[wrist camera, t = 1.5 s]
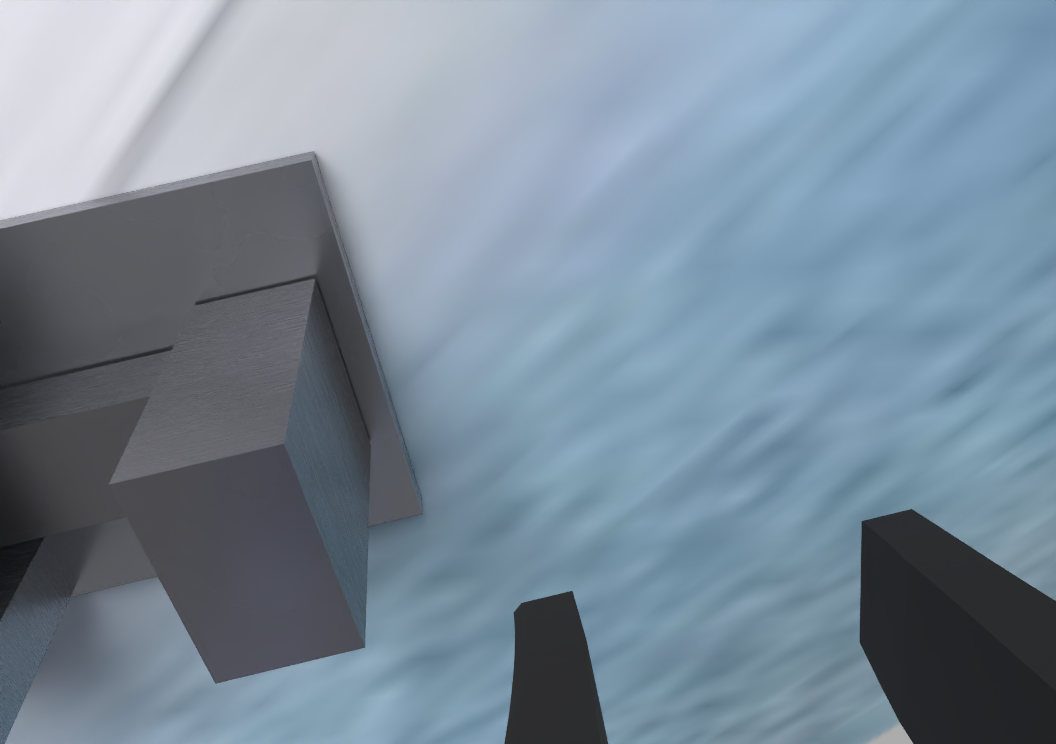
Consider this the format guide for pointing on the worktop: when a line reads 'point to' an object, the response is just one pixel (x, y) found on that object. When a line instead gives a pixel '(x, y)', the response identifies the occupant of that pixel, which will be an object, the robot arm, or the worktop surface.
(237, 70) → the worktop surface
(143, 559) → the socket
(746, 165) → the worktop surface
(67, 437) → the dark gray rectangular block
